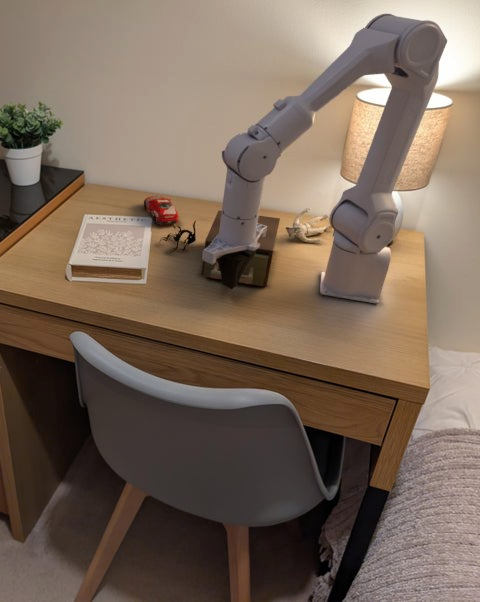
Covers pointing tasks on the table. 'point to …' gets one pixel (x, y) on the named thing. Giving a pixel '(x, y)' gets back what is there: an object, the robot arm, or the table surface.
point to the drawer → (251, 273)
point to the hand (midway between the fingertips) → (229, 285)
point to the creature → (190, 238)
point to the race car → (161, 210)
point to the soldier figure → (307, 228)
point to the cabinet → (265, 243)
